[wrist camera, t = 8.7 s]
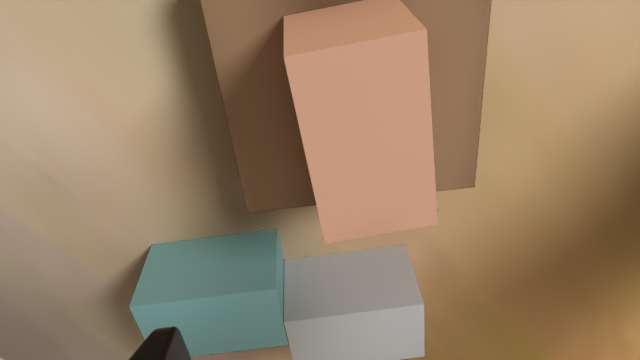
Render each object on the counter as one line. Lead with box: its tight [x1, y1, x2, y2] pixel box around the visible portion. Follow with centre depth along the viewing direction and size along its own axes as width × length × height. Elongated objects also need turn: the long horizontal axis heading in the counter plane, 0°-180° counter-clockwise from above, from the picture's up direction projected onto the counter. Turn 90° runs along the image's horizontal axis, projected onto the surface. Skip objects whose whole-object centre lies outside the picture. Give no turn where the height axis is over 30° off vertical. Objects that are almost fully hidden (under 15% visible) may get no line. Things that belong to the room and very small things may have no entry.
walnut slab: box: [200, 0, 491, 212], centre depth 18 cm, size 9×9×3 cm
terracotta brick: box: [284, 0, 438, 244], centre depth 15 cm, size 6×4×4 cm, turn 10°
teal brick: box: [129, 229, 288, 357], centre depth 22 cm, size 6×4×4 cm, turn 97°
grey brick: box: [284, 244, 425, 360], centre depth 23 cm, size 6×4×4 cm, turn 97°
